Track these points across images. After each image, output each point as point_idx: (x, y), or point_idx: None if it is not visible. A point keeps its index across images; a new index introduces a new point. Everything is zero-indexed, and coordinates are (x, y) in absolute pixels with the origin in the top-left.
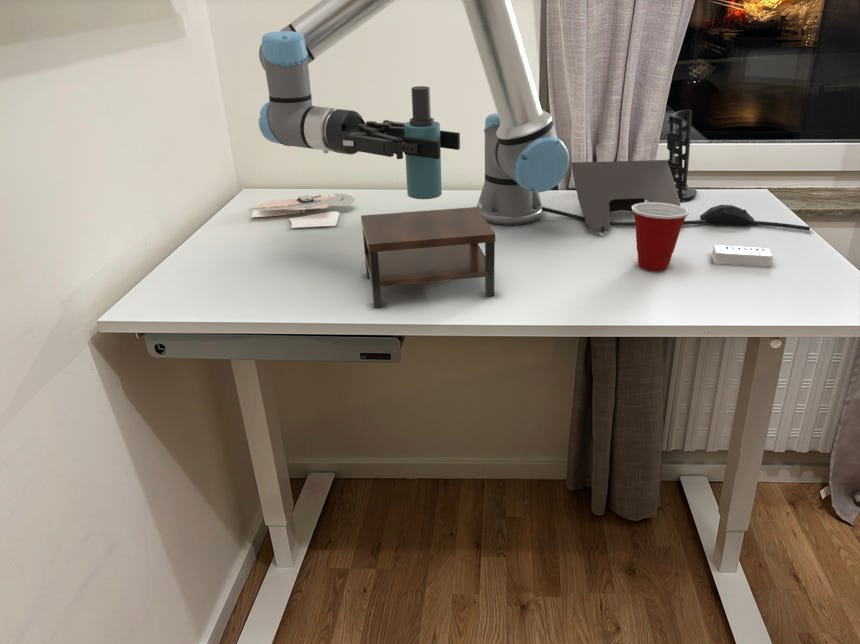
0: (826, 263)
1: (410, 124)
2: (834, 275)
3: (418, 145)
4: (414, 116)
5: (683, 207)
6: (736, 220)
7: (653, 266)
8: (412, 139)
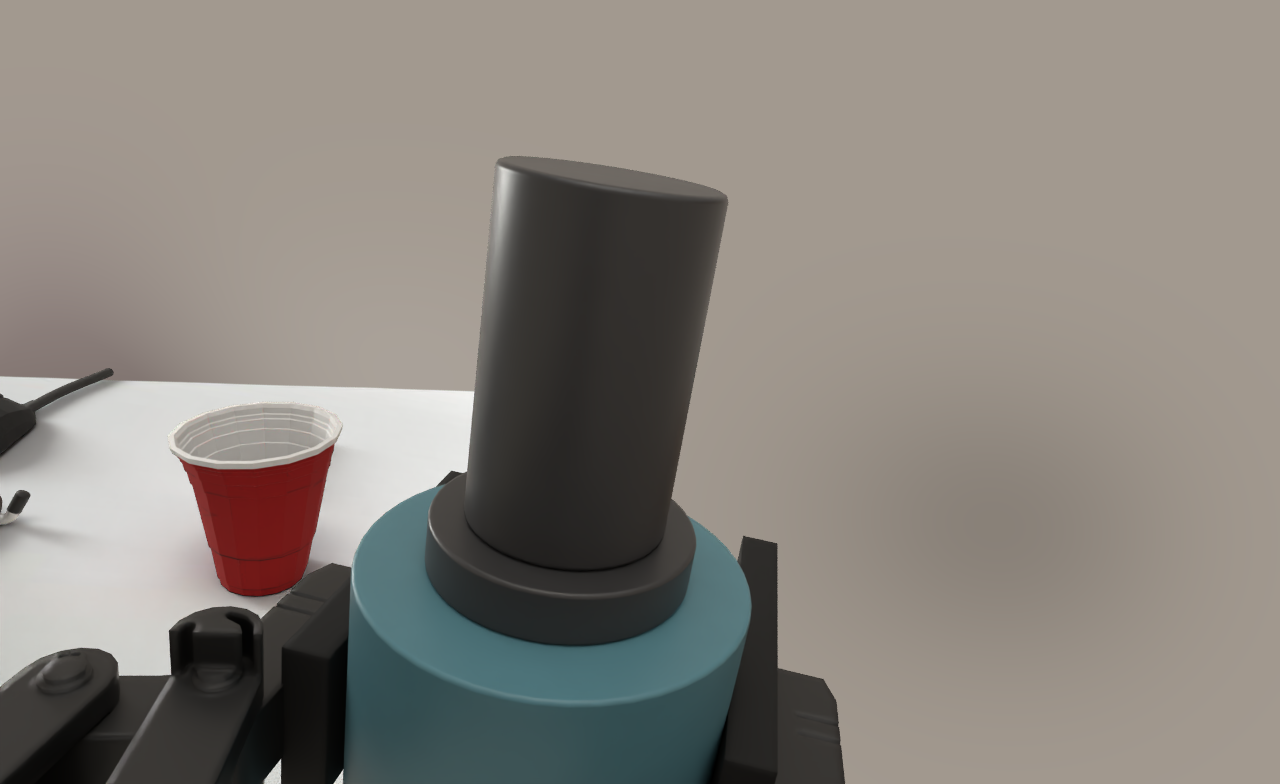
0: (288, 395)
1: (639, 631)
2: (344, 400)
3: (795, 678)
4: (656, 515)
5: (239, 405)
6: (22, 420)
7: (306, 563)
8: (775, 694)
